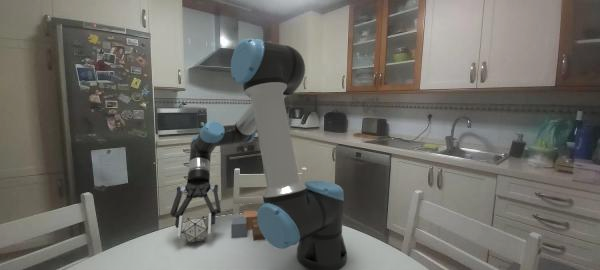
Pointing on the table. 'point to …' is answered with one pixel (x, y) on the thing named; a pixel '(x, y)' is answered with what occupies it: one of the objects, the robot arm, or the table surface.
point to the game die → (195, 230)
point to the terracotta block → (249, 218)
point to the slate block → (238, 227)
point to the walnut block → (256, 231)
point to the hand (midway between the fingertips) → (194, 235)
